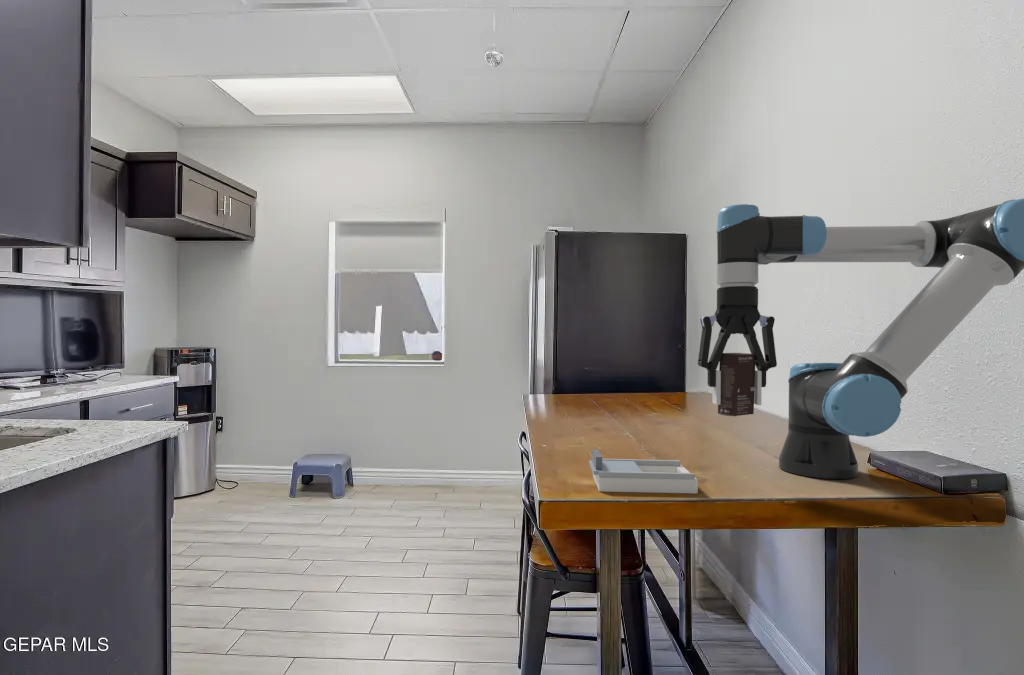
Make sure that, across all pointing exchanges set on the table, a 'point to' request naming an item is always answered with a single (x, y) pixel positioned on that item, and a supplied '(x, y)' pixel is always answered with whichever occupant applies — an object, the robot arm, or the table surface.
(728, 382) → the box
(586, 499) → the table surface
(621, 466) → the panel
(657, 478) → the socket plate
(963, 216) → the robot arm
